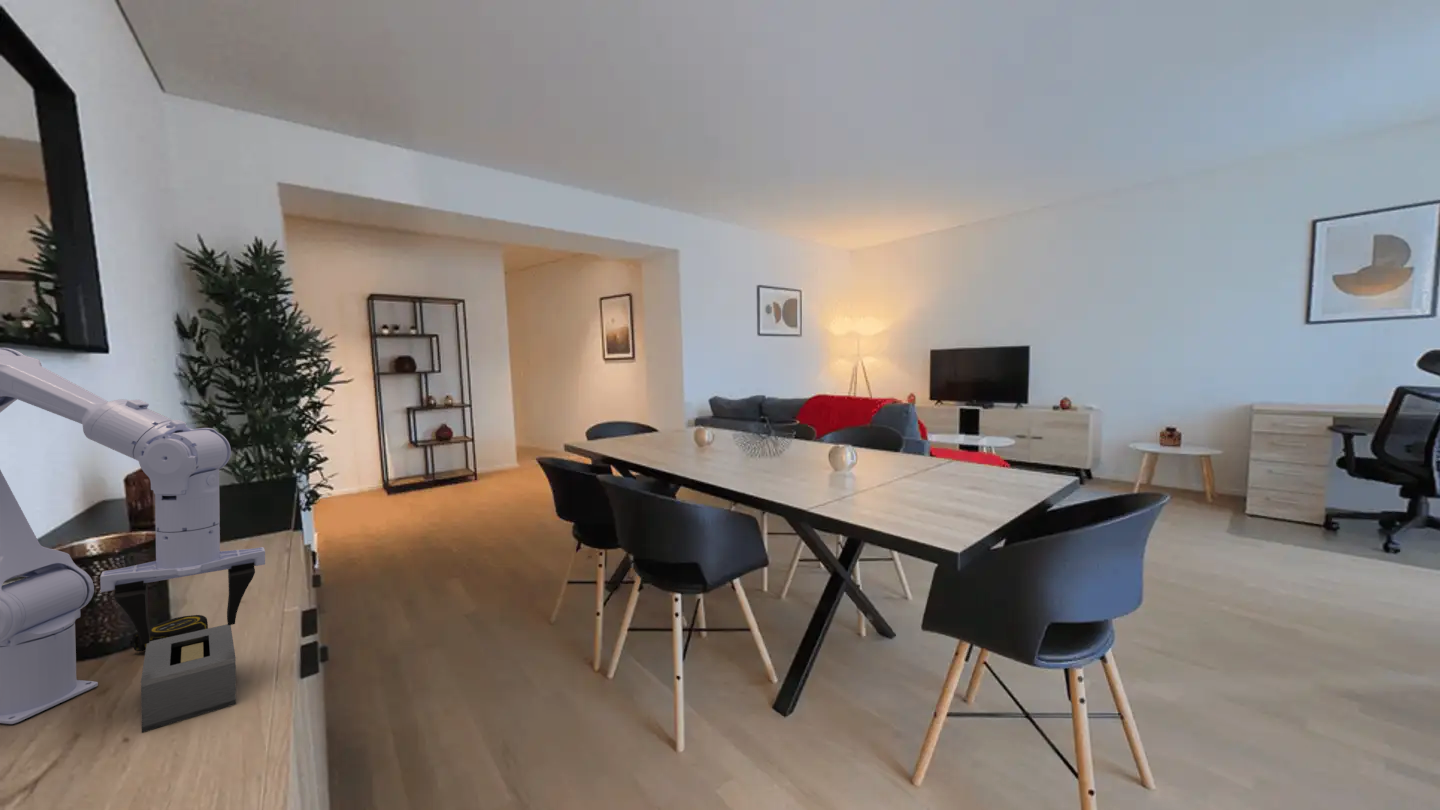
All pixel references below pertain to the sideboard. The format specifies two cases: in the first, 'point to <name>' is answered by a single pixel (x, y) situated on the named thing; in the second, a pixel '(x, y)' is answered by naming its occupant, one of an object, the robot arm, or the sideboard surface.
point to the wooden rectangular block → (192, 652)
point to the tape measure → (171, 629)
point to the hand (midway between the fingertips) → (190, 631)
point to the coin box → (187, 677)
